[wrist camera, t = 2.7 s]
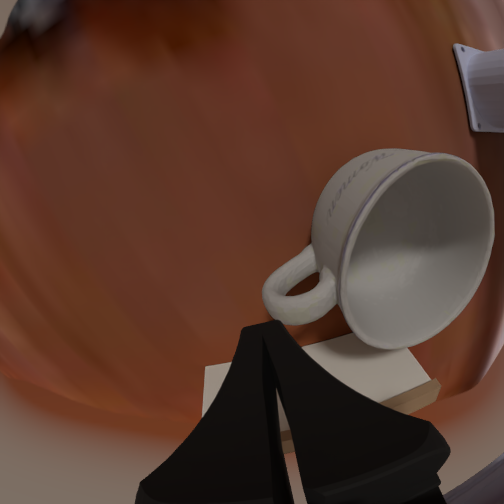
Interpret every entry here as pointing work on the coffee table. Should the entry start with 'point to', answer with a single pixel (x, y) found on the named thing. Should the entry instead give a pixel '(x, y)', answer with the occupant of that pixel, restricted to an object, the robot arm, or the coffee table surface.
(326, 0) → the coffee table surface
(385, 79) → the coffee table surface
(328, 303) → the teacup
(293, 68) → the coffee table surface
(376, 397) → the cream slab
